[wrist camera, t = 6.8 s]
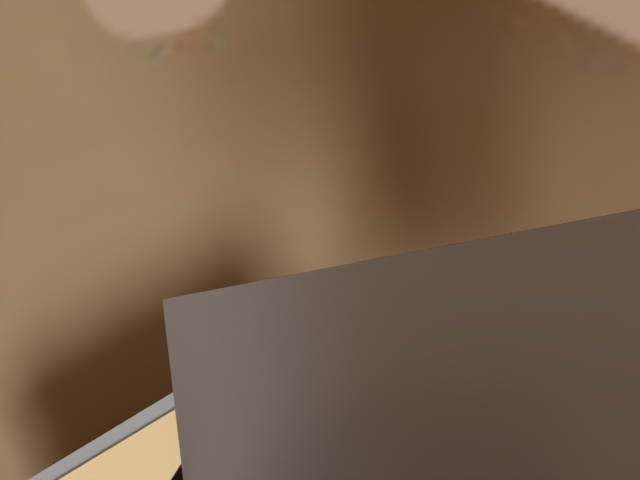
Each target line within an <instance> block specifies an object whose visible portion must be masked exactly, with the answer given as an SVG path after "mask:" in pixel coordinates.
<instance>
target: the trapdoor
mask: <svg viewBox="0 0 640 480" xmlns="http://www.w3.org/2000/svg"><path fill="white" fill-rule="evenodd" d="M180 465H181V457H180V448H179V439H178V431H177V422H176V413H175V405H174V396H173V393H171V394H169V395H168V396H166V397H164V398H163V399H161V400H159V401H158V402H156V403H154V404H153V405H151V406H149V407H148V408H146V409H144V410H143V411H141V412H139V413H138V414H136V415H134V416H133V417H131V418H130V419H128V420H126V421H125V422H123V423H121V424H120V425H118V426H116V427H115V428H113V429H111V430H110V431H108V432H106V433H105V434H103V435H101V436H100V437H98V438H96V439H95V440H93V441H91V442H90V443H88V444H86V445H85V446H83V447H81V448H80V449H78V450H77V451H75V452H73V453H72V454H70V455H68V456H67V457H65V458H63V459H62V460H60V461H58V462H57V463H55V464H53V465H52V466H50V467H48V468H47V469H45V470H43V471H42V472H40V473H38V474H37V475H35V476H33V477H32V478H30V479H28V480H171V479H172V477H173V475H174V474H175V472H176V471H177V469H178V468H179V466H180Z"/></svg>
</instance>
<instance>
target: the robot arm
mask: <svg viewBox="0 0 640 480" xmlns="http://www.w3.org/2000/svg"><path fill="white" fill-rule="evenodd" d="M171 480H183V474H182V465H180V466H179V468H178V469H177V471H176V472H175V474H174V475H173V477H172V479H171Z"/></svg>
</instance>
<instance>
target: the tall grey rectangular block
mask: <svg viewBox="0 0 640 480" xmlns="http://www.w3.org/2000/svg"><path fill="white" fill-rule="evenodd" d="M162 302H163V310H164V319H165V327H166V336H167V345H168V353H169V362H170V370H171V379H172V388H173V396H174V405H175V413H176V422H177V431H178V439H179V448H180V457H181V465H182V474H183V480H640V209H637V210H632V211H627V212H621V213H616V214H611V215H606V216H600V217H595V218H590V219H584V220H579V221H574V222H569V223H563V224H558V225H553V226H547V227H542V228H537V229H532V230H526V231H521V232H516V233H510V234H505V235H500V236H495V237H489V238H484V239H479V240H473V241H468V242H463V243H457V244H452V245H447V246H442V247H436V248H431V249H426V250H420V251H415V252H410V253H405V254H399V255H394V256H389V257H383V258H378V259H373V260H368V261H362V262H357V263H352V264H346V265H341V266H336V267H330V268H325V269H320V270H315V271H309V272H304V273H299V274H293V275H288V276H283V277H278V278H272V279H267V280H262V281H256V282H251V283H246V284H241V285H235V286H230V287H225V288H219V289H214V290H209V291H203V292H198V293H193V294H188V295H182V296H177V297H172V298H166V299H162Z"/></svg>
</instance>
